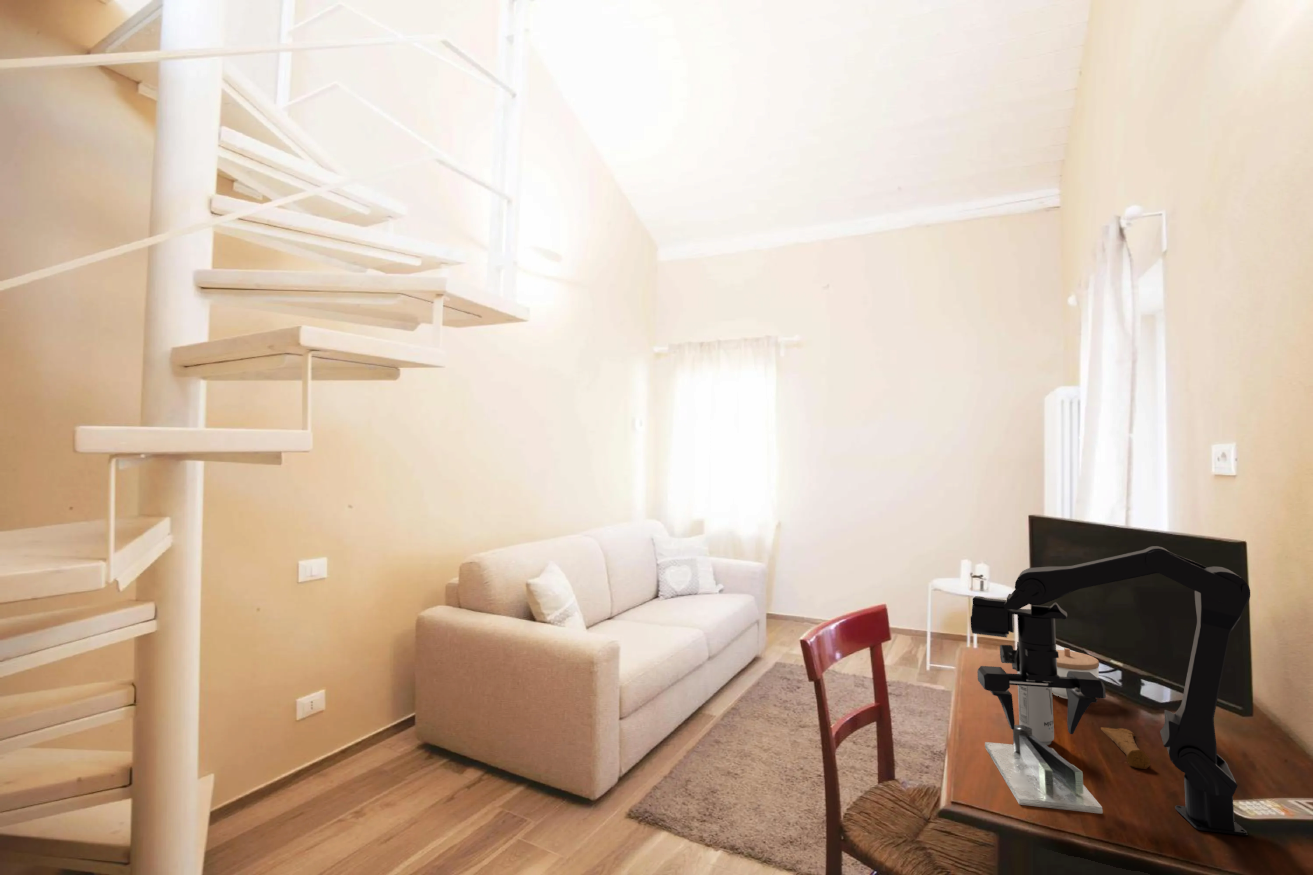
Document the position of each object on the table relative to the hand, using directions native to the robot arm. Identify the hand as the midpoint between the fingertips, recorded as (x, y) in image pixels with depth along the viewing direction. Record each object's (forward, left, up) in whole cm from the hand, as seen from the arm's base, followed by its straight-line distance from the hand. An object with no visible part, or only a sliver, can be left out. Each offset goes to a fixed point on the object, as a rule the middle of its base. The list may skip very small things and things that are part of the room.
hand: (1040, 730), depth 111 cm
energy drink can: (+20, -5, -9) cm, 22 cm away
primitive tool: (+20, -20, -10) cm, 30 cm away
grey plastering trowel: (+3, 0, -9) cm, 9 cm away
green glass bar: (+2, -2, -8) cm, 8 cm away
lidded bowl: (+50, -21, -9) cm, 55 cm away
